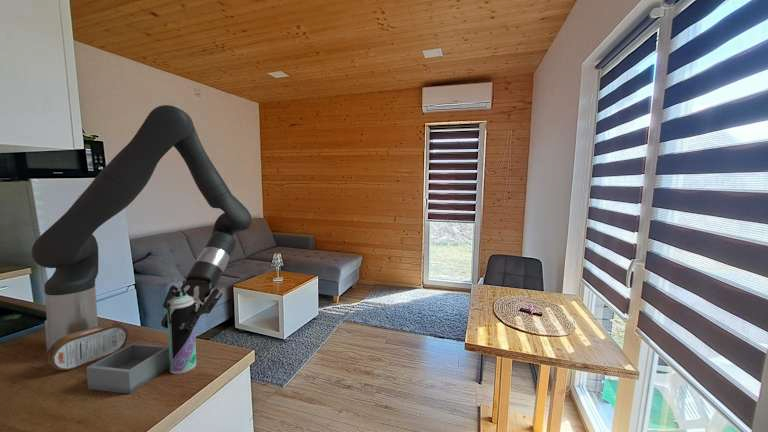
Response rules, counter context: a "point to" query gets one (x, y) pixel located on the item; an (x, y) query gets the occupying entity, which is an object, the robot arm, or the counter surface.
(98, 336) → the tin
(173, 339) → the spray can
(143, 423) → the counter surface
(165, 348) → the box
